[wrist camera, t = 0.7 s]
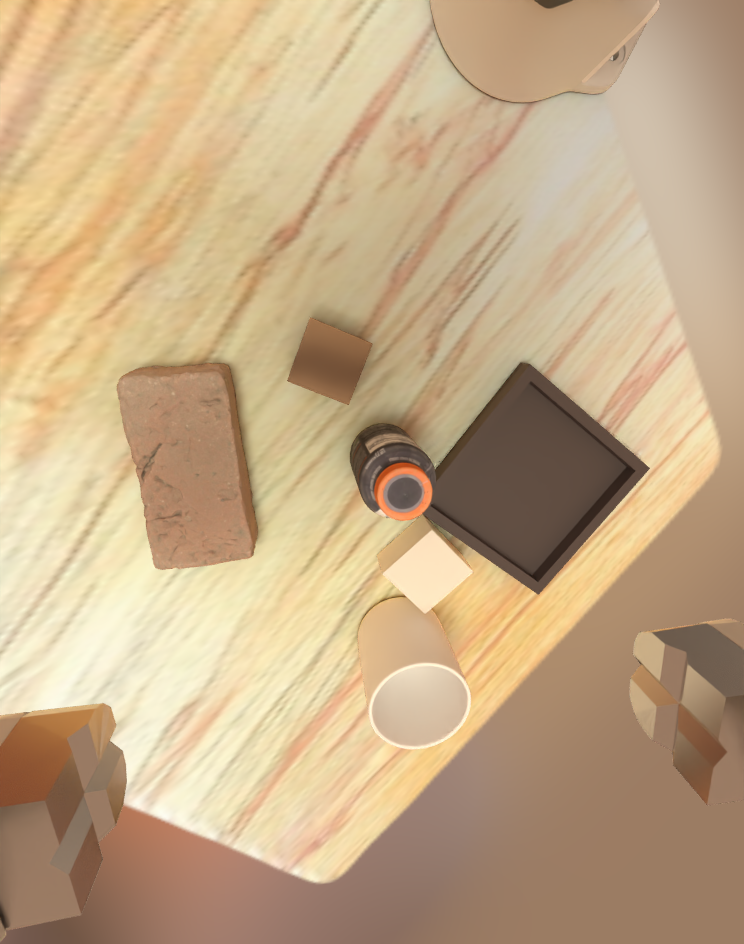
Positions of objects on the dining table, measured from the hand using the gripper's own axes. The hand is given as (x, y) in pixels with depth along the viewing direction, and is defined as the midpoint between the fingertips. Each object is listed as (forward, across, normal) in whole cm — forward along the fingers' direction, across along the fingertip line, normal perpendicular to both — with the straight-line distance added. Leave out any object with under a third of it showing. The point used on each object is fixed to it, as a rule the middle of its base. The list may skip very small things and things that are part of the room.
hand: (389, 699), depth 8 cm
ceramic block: (+38, -8, +16) cm, 42 cm away
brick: (+38, +11, +5) cm, 40 cm away
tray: (+37, -19, +10) cm, 43 cm away
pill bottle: (+38, -5, +6) cm, 38 cm away
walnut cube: (+37, -1, -3) cm, 38 cm away
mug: (+38, -6, +26) cm, 46 cm away
